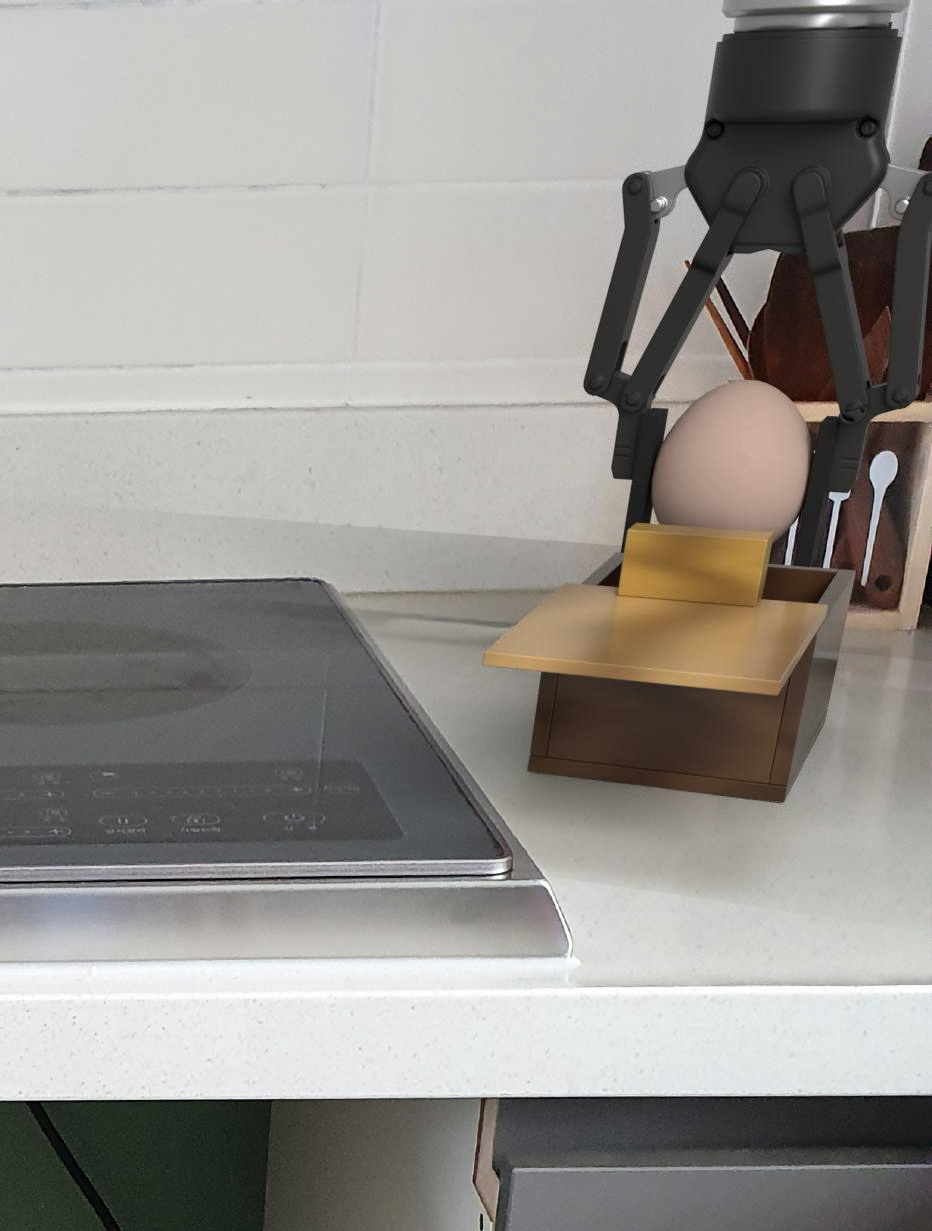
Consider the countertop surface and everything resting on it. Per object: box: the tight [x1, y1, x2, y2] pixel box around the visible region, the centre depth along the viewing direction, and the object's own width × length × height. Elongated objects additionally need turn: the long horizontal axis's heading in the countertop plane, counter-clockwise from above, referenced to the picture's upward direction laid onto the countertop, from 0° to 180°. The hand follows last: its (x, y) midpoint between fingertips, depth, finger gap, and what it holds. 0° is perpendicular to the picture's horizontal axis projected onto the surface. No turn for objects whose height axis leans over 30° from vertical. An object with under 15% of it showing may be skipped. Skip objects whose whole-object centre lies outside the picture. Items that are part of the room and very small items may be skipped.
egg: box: [651, 379, 815, 544], centre depth 101 cm, size 7×7×8 cm
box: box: [526, 551, 857, 803], centre depth 104 cm, size 12×16×8 cm
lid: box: [482, 523, 828, 696], centre depth 91 cm, size 12×16×4 cm
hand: (718, 554), depth 103 cm, fingers closed on egg, 7 cm apart
